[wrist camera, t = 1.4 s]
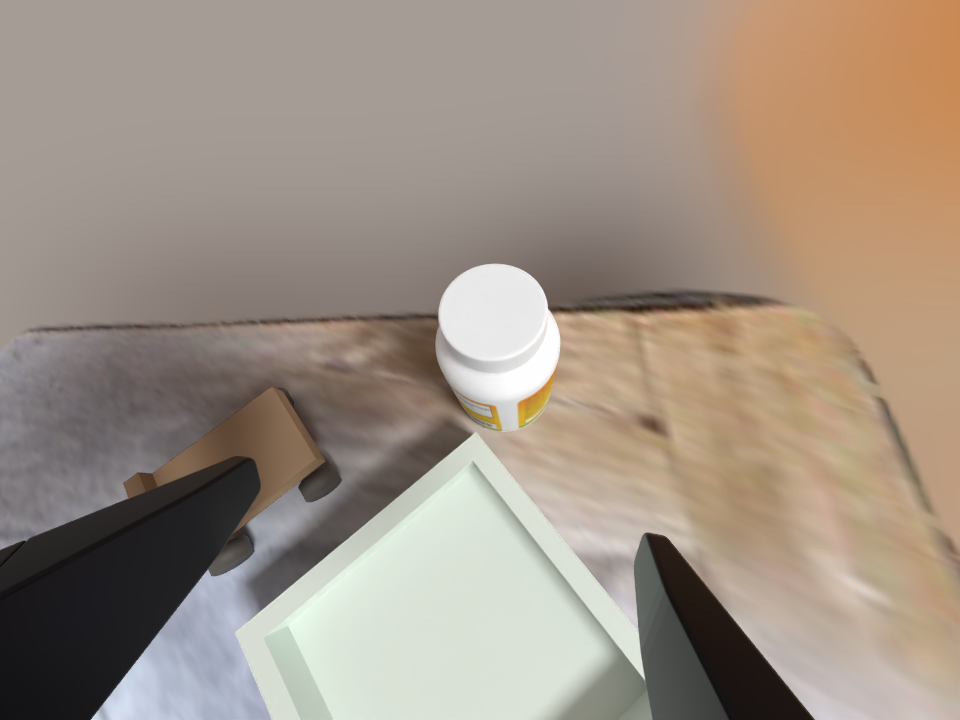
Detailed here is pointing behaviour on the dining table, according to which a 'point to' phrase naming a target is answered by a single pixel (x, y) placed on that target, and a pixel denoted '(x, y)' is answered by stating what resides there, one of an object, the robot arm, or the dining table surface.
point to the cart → (276, 450)
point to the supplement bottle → (498, 345)
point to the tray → (449, 616)
